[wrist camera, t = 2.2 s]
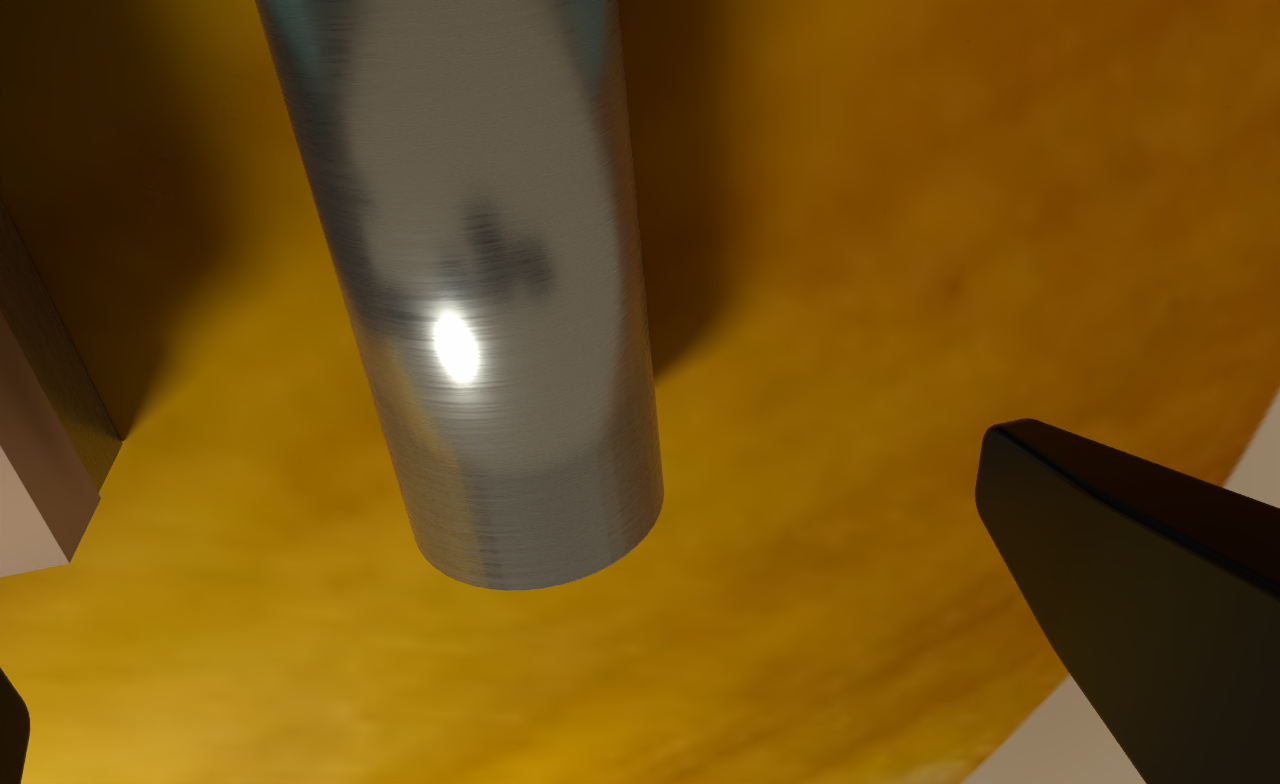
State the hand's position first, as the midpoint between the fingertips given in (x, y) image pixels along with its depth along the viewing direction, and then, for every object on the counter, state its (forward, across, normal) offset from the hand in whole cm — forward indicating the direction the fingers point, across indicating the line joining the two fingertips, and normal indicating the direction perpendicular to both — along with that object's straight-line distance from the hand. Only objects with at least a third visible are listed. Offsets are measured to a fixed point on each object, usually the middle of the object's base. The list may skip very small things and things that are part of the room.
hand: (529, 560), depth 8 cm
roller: (+6, 0, 0) cm, 7 cm away
